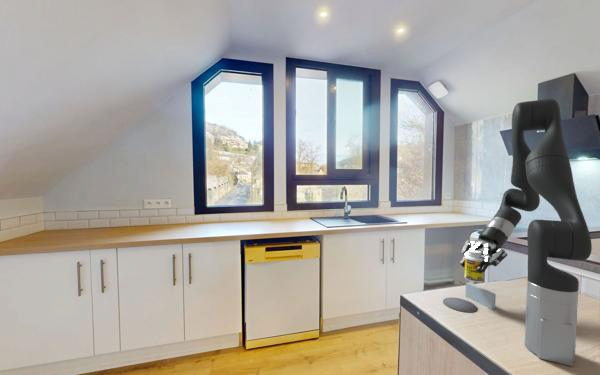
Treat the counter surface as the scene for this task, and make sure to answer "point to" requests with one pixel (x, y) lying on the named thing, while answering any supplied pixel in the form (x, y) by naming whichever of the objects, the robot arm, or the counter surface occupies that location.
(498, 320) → the counter surface
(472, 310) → the resting mat
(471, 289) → the low wall
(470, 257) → the supplement bottle
